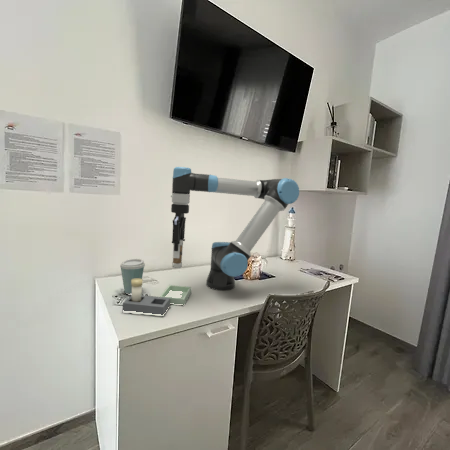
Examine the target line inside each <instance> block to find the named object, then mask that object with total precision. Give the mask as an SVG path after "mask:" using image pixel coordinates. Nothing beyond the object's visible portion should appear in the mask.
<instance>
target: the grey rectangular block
mask: <svg viewBox="0 0 450 450" xmlns="http://www.w3.org/2000/svg"><path fill="white" fill-rule="evenodd" d="M131 297H132V295H129V297H128V298H126V299H125V301H123V303H122V311H123V310H124V311H136V312H143V313H152V314H161V315H163V314H164V313H165V312H166V310H167V309H168V307H169V306H170V307H171V305H170V298H166V297H160V296H155V295H154V296H153V295H145V294H142V298H141V302H132V301H131ZM168 310H169V309H168ZM166 313H167V312H166Z"/></svg>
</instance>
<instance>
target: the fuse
mask: <svg viewBox="0 0 450 450" xmlns="http://www.w3.org/2000/svg"><path fill="white" fill-rule="evenodd" d="M143 280H144V279H143V278H142V279H140V278H135V279H132V280H131V286H132V297H131V301H132V302H141V298H142V295H143V294H142V293H143V292H142V291H143V284H144V283H143V282H144V281H143Z"/></svg>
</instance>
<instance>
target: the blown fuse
mask: <svg viewBox="0 0 450 450" xmlns="http://www.w3.org/2000/svg"><path fill="white" fill-rule="evenodd" d="M172 245H173V246H174V243H172ZM182 245H184V241H183V240H181V239H180V258H173V257H172V265H171V267H172V268H173V269H181V268H182V267H183V262H182V260H183V250H182Z"/></svg>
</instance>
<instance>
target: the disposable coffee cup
mask: <svg viewBox="0 0 450 450" xmlns="http://www.w3.org/2000/svg"><path fill="white" fill-rule="evenodd" d="M145 264H146V263H145V261H144V259H142V258H141V259H140V258H131V259H130V258H129V259H126V260H124V261H122V262H121V263H120V271H121V278H122V285H123V291H124V294H125V293H129V294H130V293H132V286H131V280H132V279H135V278H140V279H142V280H143V275H144V270H145V269H144V268H145V267H146V265H145Z"/></svg>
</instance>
